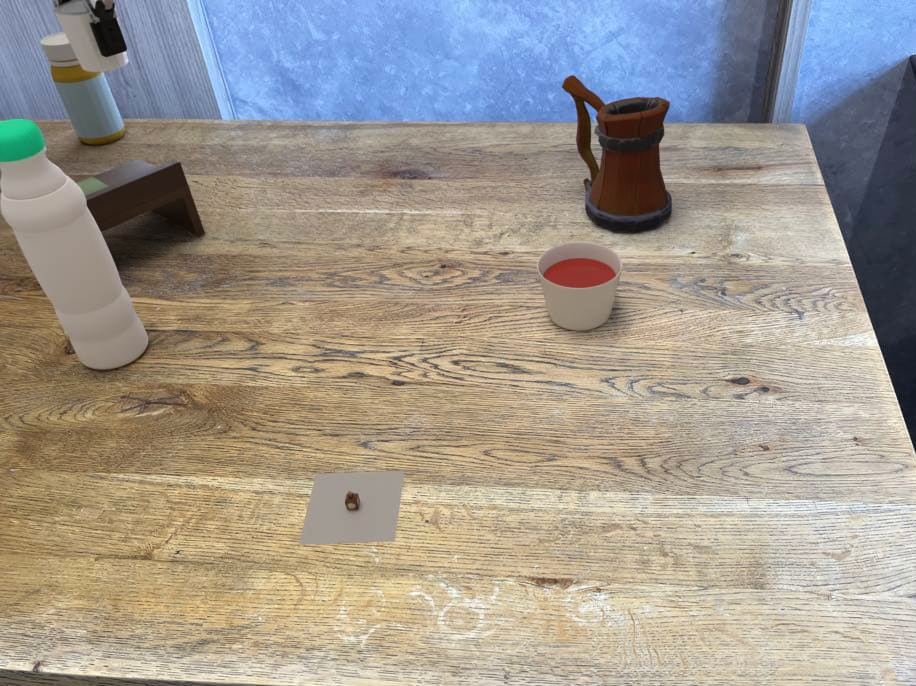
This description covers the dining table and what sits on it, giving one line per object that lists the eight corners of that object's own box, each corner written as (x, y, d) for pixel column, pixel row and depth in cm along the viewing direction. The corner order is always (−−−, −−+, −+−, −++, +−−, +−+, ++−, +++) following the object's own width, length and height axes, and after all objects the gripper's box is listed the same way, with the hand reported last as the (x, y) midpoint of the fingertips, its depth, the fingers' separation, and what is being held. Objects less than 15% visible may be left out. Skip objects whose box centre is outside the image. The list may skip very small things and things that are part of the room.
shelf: (41, 256, 103) (4, 183, 96) (156, 206, 112) (129, 136, 105) (88, 289, 97) (51, 214, 90) (205, 234, 106) (180, 161, 99)
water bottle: (73, 376, 85) (-53, 148, 68) (90, 336, 90) (-23, 114, 73) (143, 368, 85) (36, 139, 69) (156, 328, 91) (59, 106, 74)
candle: (530, 297, 93) (527, 249, 88) (605, 284, 94) (607, 236, 90) (550, 344, 86) (549, 295, 82) (631, 329, 88) (634, 279, 83)
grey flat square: (404, 470, 73) (401, 456, 72) (394, 541, 68) (391, 527, 66) (316, 473, 73) (311, 459, 72) (298, 544, 68) (292, 530, 66)
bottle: (134, 135, 129) (96, 36, 119) (91, 150, 126) (48, 49, 116) (114, 123, 133) (76, 26, 123) (72, 137, 129) (29, 39, 119)
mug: (535, 192, 111) (531, 81, 101) (600, 166, 116) (601, 58, 106) (624, 245, 100) (629, 127, 90) (691, 214, 105) (703, 99, 95)
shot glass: (144, 55, 106) (124, -3, 101) (116, 74, 101) (93, 14, 96) (95, 53, 107) (74, -4, 102) (65, 72, 102) (41, 13, 97)
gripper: (-32, -121, 93) (37, 42, 105) (41, -104, 84) (107, 71, 96) (32, -131, 97) (92, 26, 109) (109, -116, 89) (164, 53, 101)
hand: (98, 46), depth 103 cm, fingers closed on shot glass, 6 cm apart
